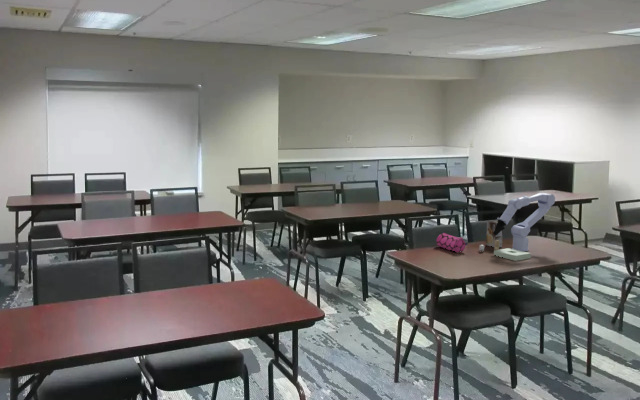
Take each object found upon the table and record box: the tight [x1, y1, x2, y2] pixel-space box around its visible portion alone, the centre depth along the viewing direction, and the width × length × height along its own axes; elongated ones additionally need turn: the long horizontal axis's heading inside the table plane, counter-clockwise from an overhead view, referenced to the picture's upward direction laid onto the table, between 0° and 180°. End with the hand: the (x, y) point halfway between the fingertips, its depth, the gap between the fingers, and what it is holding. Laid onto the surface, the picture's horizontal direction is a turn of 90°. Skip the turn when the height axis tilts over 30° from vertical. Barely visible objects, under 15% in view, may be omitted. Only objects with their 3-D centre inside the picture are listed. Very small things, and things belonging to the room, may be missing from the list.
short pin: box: [478, 244, 486, 252], centre depth 356 cm, size 3×3×4 cm
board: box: [493, 247, 532, 261], centre depth 343 cm, size 14×16×3 cm
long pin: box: [493, 240, 500, 251], centre depth 356 cm, size 3×3×7 cm
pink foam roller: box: [435, 232, 468, 253], centre depth 360 cm, size 21×10×10 cm, turn 26°
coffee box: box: [485, 220, 504, 248], centre depth 372 cm, size 9×6×16 cm
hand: (495, 233), depth 352 cm, fingers open, 7 cm apart
